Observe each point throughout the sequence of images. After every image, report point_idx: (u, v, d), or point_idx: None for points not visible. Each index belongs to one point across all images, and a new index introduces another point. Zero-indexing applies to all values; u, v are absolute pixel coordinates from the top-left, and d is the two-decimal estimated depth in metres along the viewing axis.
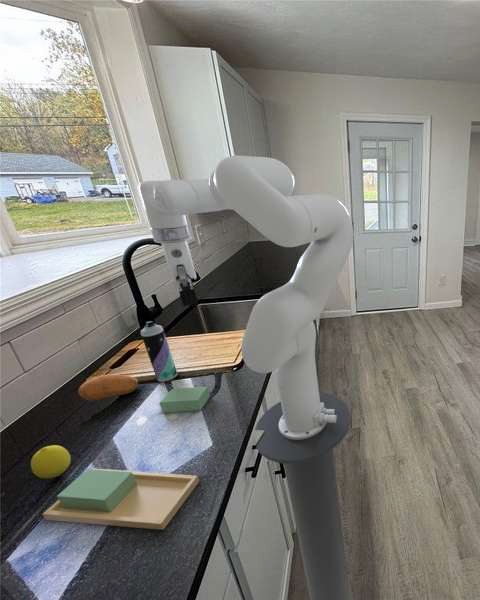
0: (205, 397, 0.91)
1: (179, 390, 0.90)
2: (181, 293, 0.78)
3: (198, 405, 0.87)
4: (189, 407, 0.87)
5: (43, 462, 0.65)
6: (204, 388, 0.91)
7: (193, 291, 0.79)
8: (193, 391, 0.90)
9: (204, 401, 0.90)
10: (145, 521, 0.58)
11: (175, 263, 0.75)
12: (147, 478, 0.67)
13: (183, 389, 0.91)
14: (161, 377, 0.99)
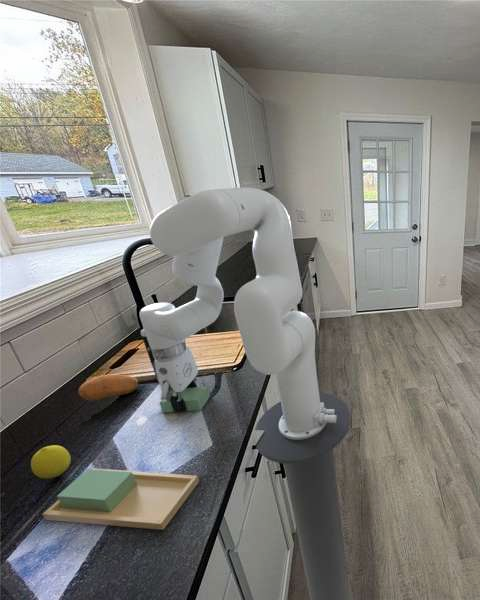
0: (205, 397, 0.91)
1: None
2: (172, 402, 0.85)
3: (198, 405, 0.87)
4: (189, 407, 0.87)
5: (43, 462, 0.65)
6: (204, 388, 0.91)
7: (181, 401, 0.85)
8: (193, 391, 0.90)
9: (204, 401, 0.90)
10: (145, 521, 0.58)
11: (161, 379, 0.81)
12: (147, 478, 0.67)
13: None
14: None
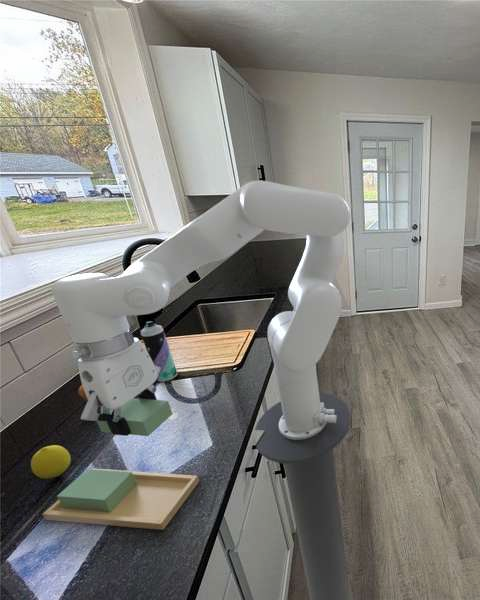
0: (161, 416, 0.62)
1: (131, 401, 0.64)
2: None
3: (145, 429, 0.59)
4: (133, 430, 0.59)
5: (43, 462, 0.65)
6: (162, 403, 0.63)
7: (121, 422, 0.58)
8: (146, 405, 0.63)
9: (158, 422, 0.62)
10: (145, 521, 0.58)
11: (86, 388, 0.54)
12: (147, 478, 0.67)
13: (136, 400, 0.64)
14: (161, 377, 0.99)
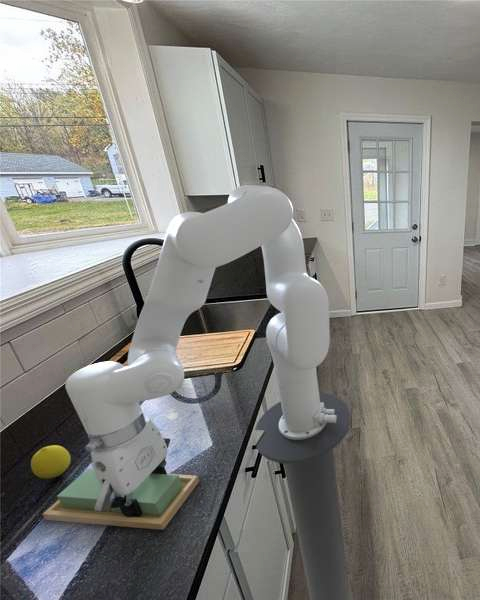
0: (172, 493, 0.62)
1: None
2: None
3: (157, 510, 0.59)
4: (145, 510, 0.59)
5: (43, 462, 0.65)
6: (173, 478, 0.63)
7: (133, 504, 0.58)
8: (156, 481, 0.63)
9: (169, 499, 0.62)
10: (145, 521, 0.58)
11: (100, 477, 0.54)
12: None
13: None
14: None
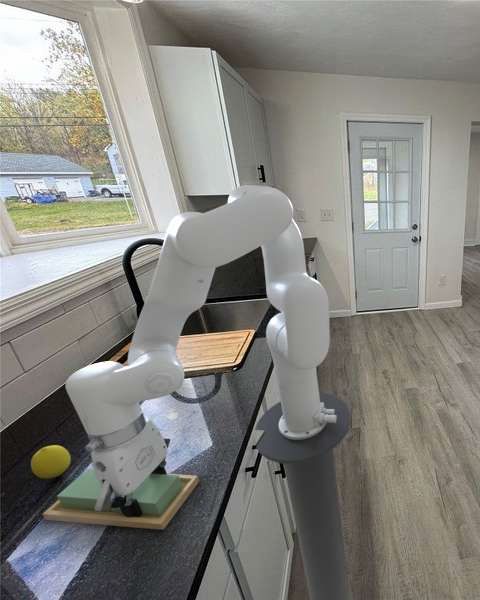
0: (172, 493, 0.62)
1: None
2: None
3: (157, 510, 0.59)
4: (145, 511, 0.59)
5: (43, 462, 0.65)
6: (173, 478, 0.63)
7: (133, 504, 0.58)
8: (156, 481, 0.63)
9: (169, 500, 0.62)
10: (145, 521, 0.58)
11: (100, 477, 0.54)
12: None
13: None
14: None
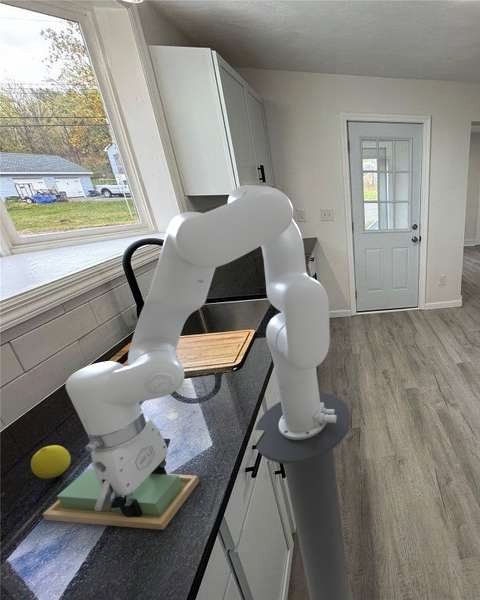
0: (172, 493, 0.62)
1: None
2: None
3: (157, 510, 0.59)
4: (145, 511, 0.59)
5: (43, 462, 0.65)
6: (173, 478, 0.63)
7: (133, 504, 0.58)
8: (156, 481, 0.63)
9: (169, 500, 0.62)
10: (145, 521, 0.58)
11: (100, 477, 0.54)
12: None
13: None
14: None
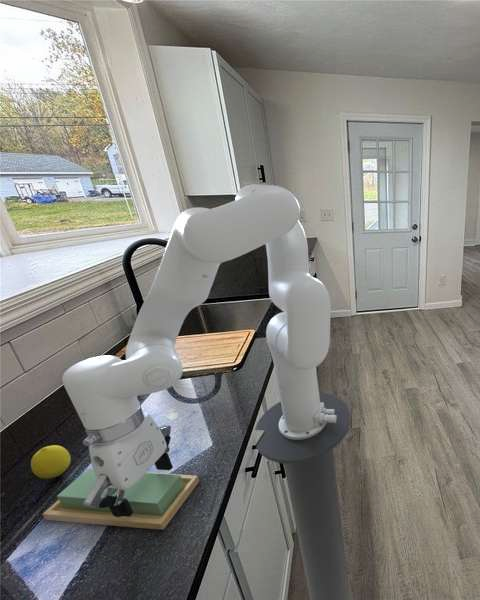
0: (174, 493, 0.63)
1: (143, 477, 0.64)
2: None
3: (159, 510, 0.59)
4: (147, 510, 0.60)
5: (43, 462, 0.65)
6: (174, 478, 0.63)
7: (123, 504, 0.56)
8: (158, 481, 0.63)
9: (171, 499, 0.62)
10: (145, 521, 0.58)
11: (98, 472, 0.53)
12: None
13: (148, 476, 0.64)
14: None
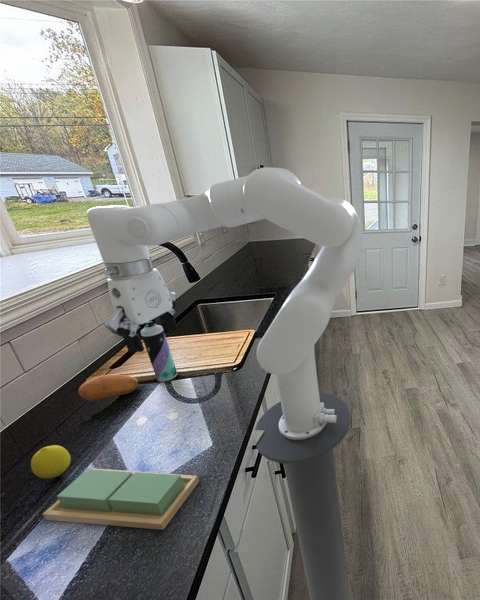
0: (174, 493, 0.63)
1: (143, 477, 0.64)
2: None
3: (159, 510, 0.59)
4: (147, 510, 0.60)
5: (43, 462, 0.65)
6: (174, 478, 0.63)
7: (136, 338, 0.65)
8: (158, 481, 0.63)
9: (171, 499, 0.62)
10: (145, 521, 0.58)
11: (115, 304, 0.63)
12: None
13: (148, 476, 0.64)
14: (161, 377, 0.99)
